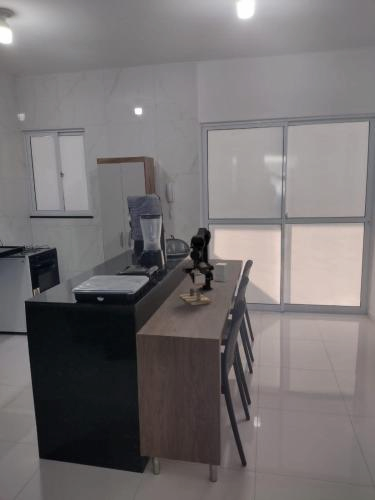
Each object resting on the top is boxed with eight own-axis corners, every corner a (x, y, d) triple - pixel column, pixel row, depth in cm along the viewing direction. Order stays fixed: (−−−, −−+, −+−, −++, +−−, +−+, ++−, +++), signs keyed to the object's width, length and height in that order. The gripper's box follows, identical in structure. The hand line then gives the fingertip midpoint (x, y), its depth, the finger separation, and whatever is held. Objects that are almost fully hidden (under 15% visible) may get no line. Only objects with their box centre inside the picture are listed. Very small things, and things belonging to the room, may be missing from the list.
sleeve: (192, 283, 226) (191, 274, 225) (200, 282, 228) (200, 273, 227) (196, 286, 220) (195, 276, 219) (205, 284, 223) (205, 275, 222)
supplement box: (228, 279, 278) (228, 263, 276) (224, 282, 272) (224, 265, 270) (219, 278, 282) (219, 262, 280) (215, 281, 276) (214, 264, 273)
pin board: (179, 296, 237) (179, 288, 236) (198, 294, 242) (197, 285, 241) (192, 305, 219) (192, 296, 218) (211, 302, 224) (211, 293, 223)
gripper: (189, 261, 211) (189, 287, 213) (218, 257, 218) (218, 283, 220) (181, 257, 221) (182, 283, 223) (209, 255, 228) (210, 279, 231)
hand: (198, 282), depth 224 cm, fingers closed on sleeve, 6 cm apart
